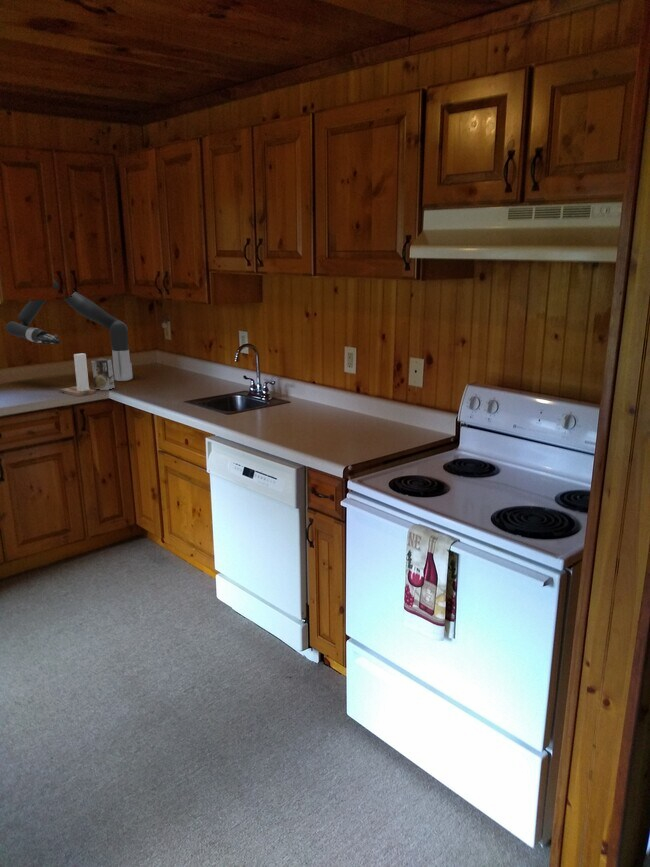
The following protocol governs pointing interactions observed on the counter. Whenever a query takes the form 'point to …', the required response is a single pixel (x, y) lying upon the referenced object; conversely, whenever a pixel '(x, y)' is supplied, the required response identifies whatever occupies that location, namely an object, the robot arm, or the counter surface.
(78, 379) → the slider tab
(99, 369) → the coffee box
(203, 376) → the counter surface
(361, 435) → the counter surface
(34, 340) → the robot arm
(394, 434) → the counter surface
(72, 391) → the slider board
